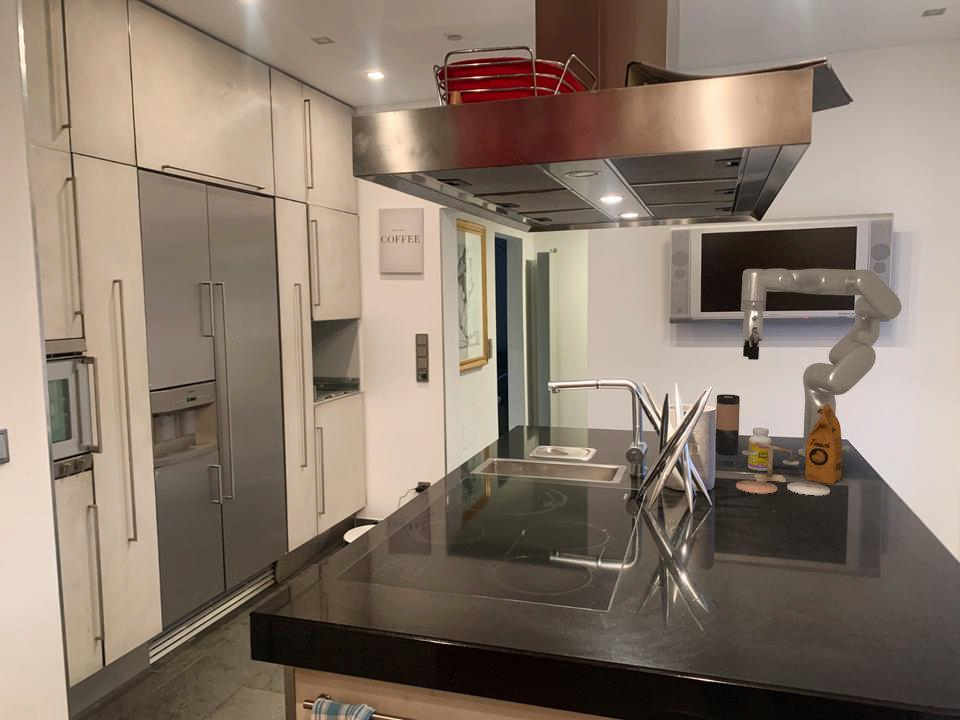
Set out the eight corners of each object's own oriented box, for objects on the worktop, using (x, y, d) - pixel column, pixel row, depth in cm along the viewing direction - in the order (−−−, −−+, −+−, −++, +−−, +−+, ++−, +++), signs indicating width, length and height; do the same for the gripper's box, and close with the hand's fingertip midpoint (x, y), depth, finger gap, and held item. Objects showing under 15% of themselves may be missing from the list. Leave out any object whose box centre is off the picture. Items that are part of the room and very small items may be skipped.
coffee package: (798, 480, 211) (801, 407, 209) (810, 471, 221) (813, 402, 218) (835, 486, 205) (838, 411, 203) (845, 477, 214) (848, 405, 212)
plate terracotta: (771, 483, 207) (771, 481, 207) (781, 494, 197) (782, 491, 196) (732, 482, 209) (732, 479, 209) (740, 493, 198) (740, 490, 198)
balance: (795, 478, 213) (797, 440, 212) (800, 482, 208) (801, 443, 207) (739, 476, 215) (741, 438, 214) (742, 480, 211) (744, 442, 210)
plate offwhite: (822, 485, 205) (822, 482, 205) (835, 496, 195) (835, 493, 194) (782, 484, 207) (782, 481, 207) (793, 495, 196) (793, 492, 196)
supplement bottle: (756, 472, 220) (758, 431, 219) (743, 467, 227) (744, 427, 226) (775, 470, 222) (776, 430, 221) (761, 465, 229) (762, 426, 227)
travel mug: (740, 452, 247) (742, 395, 245) (735, 456, 241) (737, 398, 239) (717, 449, 251) (719, 393, 249) (712, 453, 245) (714, 396, 243)
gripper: (770, 307, 225) (767, 361, 227) (760, 306, 242) (757, 356, 243) (745, 307, 226) (742, 360, 228) (737, 305, 243) (734, 355, 245)
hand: (750, 358), depth 236 cm, fingers open, 9 cm apart
